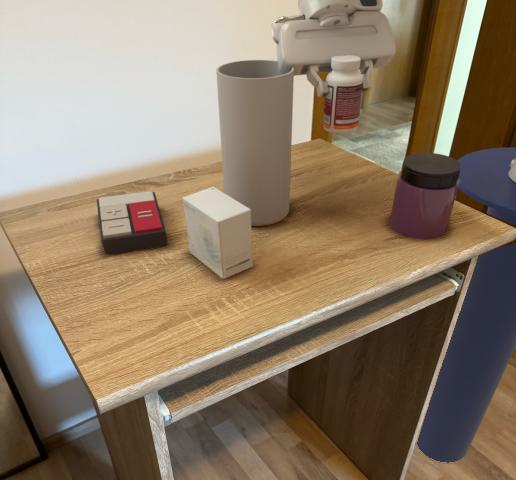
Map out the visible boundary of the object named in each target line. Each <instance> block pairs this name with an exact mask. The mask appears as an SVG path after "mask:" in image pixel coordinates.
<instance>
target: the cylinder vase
mask: <svg viewBox="0 0 516 480" xmlns="http://www.w3.org/2000/svg"><path fill="white" fill-rule="evenodd" d="M215 71H216V85H217V87H216V88H217V103H218V117H219V119H218V120H219V133H220V149H221V151H220V152H221V167H222V182H223V183H222V184H223V193H225V194H226V195H228V196H230V197H231V198H233V199H234V200H236V201H238V202H239V203H241V204H243V205H244V206H246V207H247V208H249V209H251V227H260V226H261V227H265V226H270V225H273V224H277V223H278V222H281V221H282V220H283V219H285V218H286V217H287V216H288V214H289V213H290V203H291V201H290V200H291V172H292V171H291V168H292V165H291V164H292V143H293V142H292V140H293V138H292V137H293V112H294V111H293V110H294V109H293V107H294V81H295V80H294V79H295V76H294V67H291V70H290V72H289V73H287V74H284V75H283V74H282V73H281V72H280V71H279V68H278V61H277V60H270V59H246V60H235V61H231V62H226V63H224V64H221V65H219V66H218V67H216V70H215Z"/></svg>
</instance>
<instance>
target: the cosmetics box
mask: <svg viewBox="0 0 516 480" xmlns="http://www.w3.org/2000/svg"><path fill="white" fill-rule="evenodd" d="M182 203H183V204H182V205H183V212H184V217H185V223H186V224H185V225H186V232H187V240H188V247H189V253H190V254H191V255H192V256H194V257H195V258H196V259H197V260H199V261H200V262H201V263H202V264H203V265H205V266H206V267H207V268H208V269H210V270H211V271H212V272H214V273H215V274H216V275H217V276H218V277H220V278H221V279H223V280H225V279H227V278H230V277H232V276H234V275H236V274H239V273H241V272H243V271H246V270H248V269H251V268H252V267H254V262H253V259H254V258H253V242H252V240H253V239H252V238H253V237H252V226H251V209H249V208H247V207H246V206H244V205H243V204H241V203H239V202H238V201H236V200H234V199H233V198H231V197H230V196H228V195H226V194H225V193H224V191H221V190H219V189H218V188H217V187H215V186H210V187H208V188H205V189H202V190H199V191H197V192H194V193H190V194H188V195H186V196H183V197H182Z"/></svg>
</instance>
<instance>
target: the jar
mask: <svg viewBox="0 0 516 480" xmlns="http://www.w3.org/2000/svg"><path fill="white" fill-rule="evenodd" d="M459 183H460V180H459V178H458V180H457V182H456V183H455V184H454V185H452V186H449V187H444V188H426V187H420V186H416V185H413V184H411V183H408V182H407V181H405V180H404V179H403V178H402V177H401V170H400V171H399V173H398V174H397V177H396V183H395V189H394V195H393V201H392V206H391V210H390V215H389V216H390V217H389V226H390V227H391V229H392V230H393V231H395V232H396V233H398V234H400V235H402V236H405V237H408V238H413V239H421V240H422V239H423V240H427V239H435V238H438V237H441V236H443V235H444V234H445V233H447V230H448V226H449V223H450V219H451V216H452V212H453V208H454V205H455V201H456V198H457V193H458V190H459V188H458V187H459Z"/></svg>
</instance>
